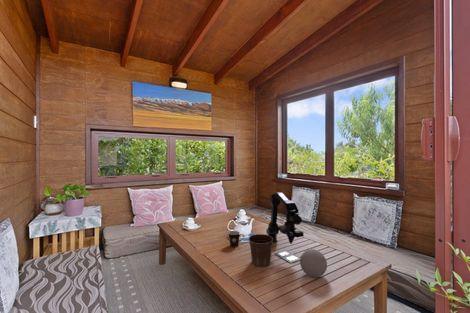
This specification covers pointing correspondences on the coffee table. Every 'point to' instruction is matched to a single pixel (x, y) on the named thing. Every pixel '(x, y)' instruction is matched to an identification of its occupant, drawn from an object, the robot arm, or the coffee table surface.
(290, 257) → the panel
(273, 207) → the robot arm
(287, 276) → the coffee table surface
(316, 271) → the decorative ball
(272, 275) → the coffee table surface
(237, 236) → the coffee mug
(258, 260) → the plant pot
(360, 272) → the coffee table surface
